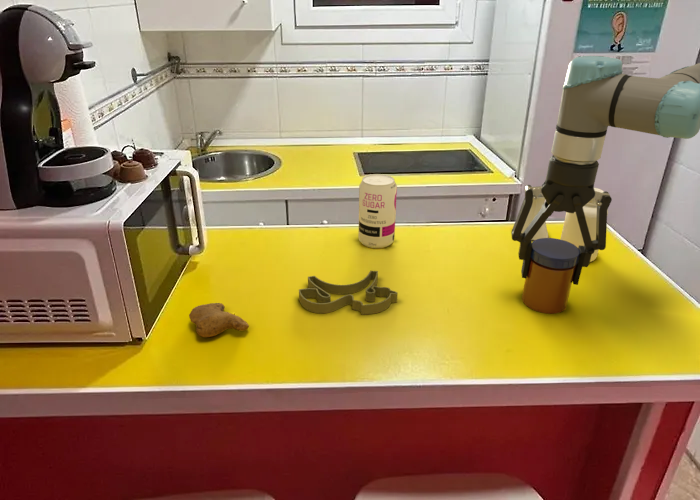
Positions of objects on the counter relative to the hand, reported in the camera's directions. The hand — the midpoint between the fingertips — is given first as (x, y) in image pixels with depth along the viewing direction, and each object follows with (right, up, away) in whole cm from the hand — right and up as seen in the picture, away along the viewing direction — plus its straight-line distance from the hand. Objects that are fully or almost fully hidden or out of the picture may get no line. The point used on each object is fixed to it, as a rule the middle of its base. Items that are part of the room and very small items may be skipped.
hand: (548, 277), depth 95 cm
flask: (+7, +9, +28) cm, 30 cm away
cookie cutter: (-37, -4, +3) cm, 37 cm away
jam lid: (0, +5, -3) cm, 6 cm away
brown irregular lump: (-59, -8, -4) cm, 60 cm away
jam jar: (0, -5, +2) cm, 5 cm away
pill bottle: (+13, +4, +19) cm, 24 cm away
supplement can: (-30, +7, +24) cm, 40 cm away
